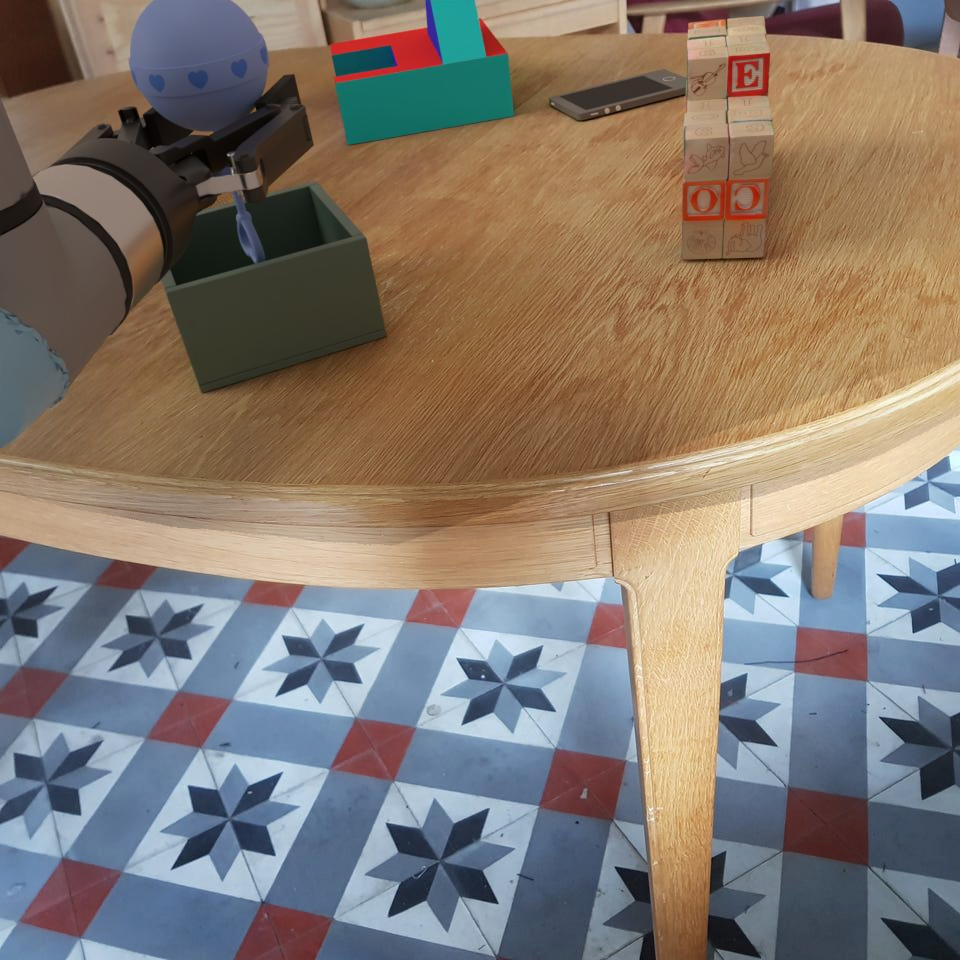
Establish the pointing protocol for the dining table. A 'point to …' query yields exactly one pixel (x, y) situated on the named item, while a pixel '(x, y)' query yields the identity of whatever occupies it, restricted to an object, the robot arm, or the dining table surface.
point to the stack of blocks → (726, 140)
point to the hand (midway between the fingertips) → (241, 100)
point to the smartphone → (620, 94)
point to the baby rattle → (202, 73)
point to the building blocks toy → (423, 76)
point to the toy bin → (273, 288)
